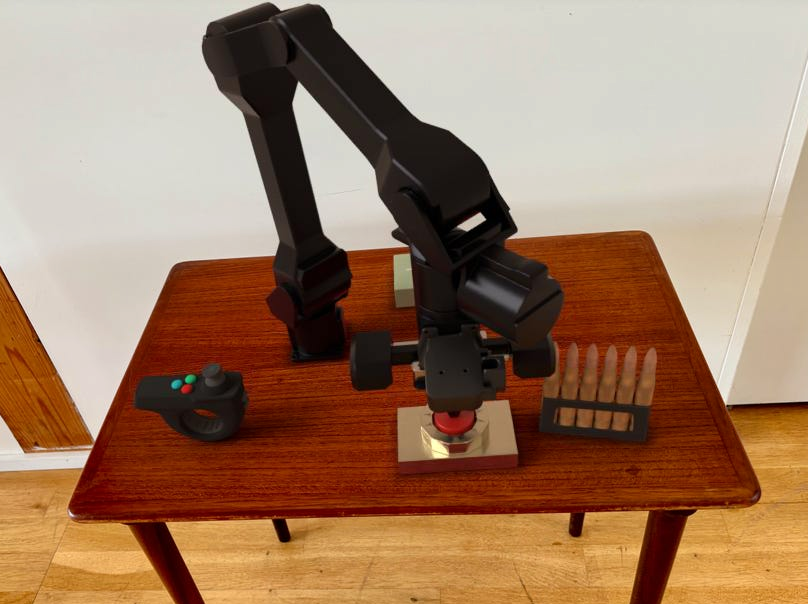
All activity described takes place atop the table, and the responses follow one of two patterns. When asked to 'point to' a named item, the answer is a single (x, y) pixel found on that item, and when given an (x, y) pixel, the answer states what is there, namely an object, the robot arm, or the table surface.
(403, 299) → the dial panel
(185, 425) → the controller
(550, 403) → the ammunition clip
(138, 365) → the table surface
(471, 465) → the button housing
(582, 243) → the table surface
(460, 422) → the press knob
